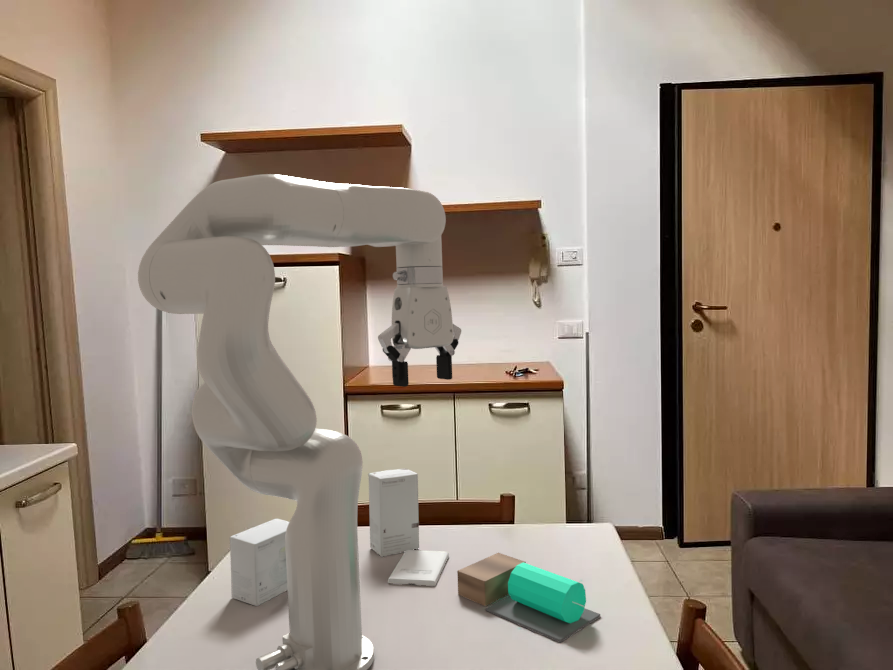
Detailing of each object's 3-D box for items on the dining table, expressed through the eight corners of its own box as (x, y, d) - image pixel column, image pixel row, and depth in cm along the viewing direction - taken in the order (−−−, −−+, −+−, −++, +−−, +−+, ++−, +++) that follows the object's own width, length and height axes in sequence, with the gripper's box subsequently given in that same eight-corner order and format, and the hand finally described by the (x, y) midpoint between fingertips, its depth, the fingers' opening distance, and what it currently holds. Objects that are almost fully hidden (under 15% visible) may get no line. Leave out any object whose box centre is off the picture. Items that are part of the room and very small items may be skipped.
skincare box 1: (258, 607, 109) (254, 543, 108) (230, 598, 112) (227, 536, 112) (304, 582, 118) (301, 522, 117) (278, 575, 121) (275, 517, 120)
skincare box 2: (381, 558, 127) (377, 479, 126) (369, 547, 132) (365, 472, 131) (421, 548, 131) (419, 472, 130) (408, 539, 136) (405, 465, 135)
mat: (560, 642, 95) (560, 639, 95) (485, 610, 105) (485, 608, 105) (600, 616, 102) (600, 614, 102) (527, 589, 112) (527, 586, 112)
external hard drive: (448, 560, 127) (435, 589, 115) (405, 558, 128) (387, 586, 116) (448, 551, 127) (435, 579, 114) (405, 549, 128) (387, 577, 116)
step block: (485, 606, 107) (484, 581, 106) (458, 594, 111) (457, 570, 111) (526, 585, 114) (525, 561, 113) (499, 575, 118) (498, 552, 118)
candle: (510, 563, 106) (574, 586, 97) (535, 561, 110) (598, 583, 101) (505, 602, 105) (568, 629, 96) (529, 599, 109) (592, 625, 100)
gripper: (393, 278, 104) (397, 391, 105) (473, 277, 115) (475, 378, 117) (363, 280, 109) (367, 386, 110) (442, 278, 121) (445, 375, 122)
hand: (423, 382), depth 113 cm, fingers open, 9 cm apart
